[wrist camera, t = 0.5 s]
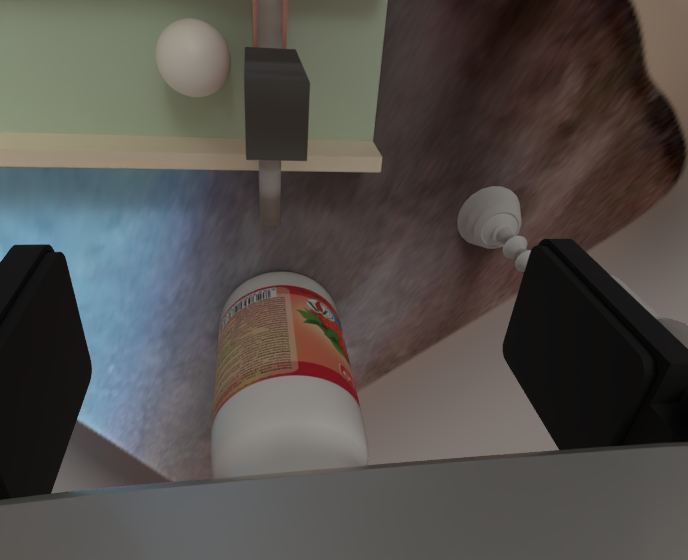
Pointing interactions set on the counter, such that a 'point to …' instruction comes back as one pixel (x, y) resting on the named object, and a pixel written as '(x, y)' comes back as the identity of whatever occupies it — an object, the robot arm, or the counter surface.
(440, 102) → the counter surface
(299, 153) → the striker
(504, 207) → the chalice
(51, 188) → the counter surface
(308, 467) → the fruit juice
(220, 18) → the cream long tray
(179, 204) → the counter surface
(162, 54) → the ball
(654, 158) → the counter surface
